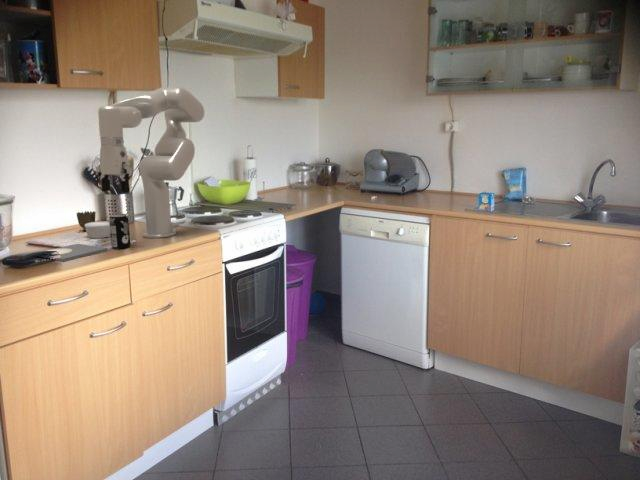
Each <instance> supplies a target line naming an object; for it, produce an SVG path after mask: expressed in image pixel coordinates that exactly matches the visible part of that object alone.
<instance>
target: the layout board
mask: <svg viewBox="0 0 640 480" xmlns="http://www.w3.org/2000/svg"><path fill="white" fill-rule="evenodd" d="M108 250H109V248H108V247H102V246H97V245H96V246H94V245H90V244H89V245H87V244H82V243H74V244H70V245H65V246H60V247H56V248H52V249H48V250H45V251H57V252H59V254H60V256H61V257H60V258H58V259H57V260H55V261H56V262H63V263H64V262H67V261H68V262H69V261H72V260H75V259H80V258H84V257H88V256H92V255H96V254H101V253H105V252H108Z"/></svg>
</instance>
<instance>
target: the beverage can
mask: <svg viewBox="0 0 640 480" xmlns="http://www.w3.org/2000/svg"><path fill="white" fill-rule="evenodd" d="M129 220H130V219H129V217H128V216H127V213H114V214H110V215H109V220H108V222H109V224H110V236H111V237H110V246H111V247H112V248H113V250H124V249H128V248H130V246H131V234H130V232H131V231H130V223H129V222H130V221H129Z"/></svg>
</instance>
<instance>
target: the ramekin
mask: <svg viewBox="0 0 640 480" xmlns="http://www.w3.org/2000/svg"><path fill="white" fill-rule="evenodd" d="M84 226H85V228H86V235H87V237H88V238H89V237H90V239H106V238H105V237H107V238H111V236H110V224H109V221H107V220H106V221H105V220H104V221H95V222H91V223H87V224H85V225H84Z"/></svg>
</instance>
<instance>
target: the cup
mask: <svg viewBox="0 0 640 480" xmlns="http://www.w3.org/2000/svg"><path fill="white" fill-rule="evenodd" d="M96 215H97V214H96V211H88V210H87V211H86V210H85V211H84V212H83V211H81V212H80V211H78V212H76V218H77V222H78V226H79V227H81V228H82V231H83V232H86V228H85V226H84V225H85V224H87V223H91V222H96ZM86 233H87V232H86Z"/></svg>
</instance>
